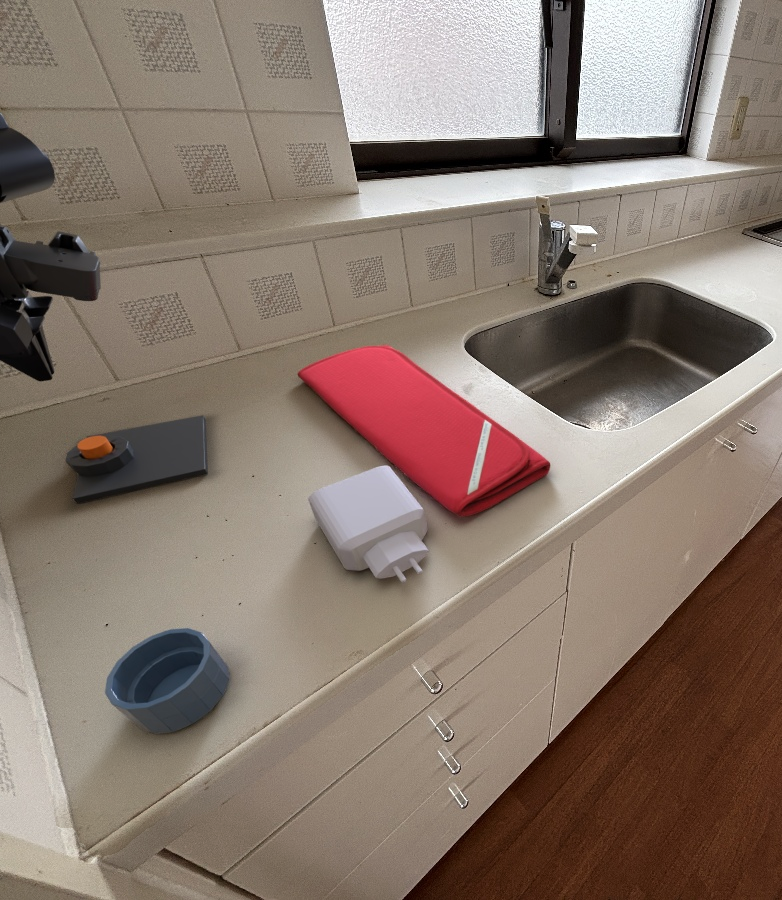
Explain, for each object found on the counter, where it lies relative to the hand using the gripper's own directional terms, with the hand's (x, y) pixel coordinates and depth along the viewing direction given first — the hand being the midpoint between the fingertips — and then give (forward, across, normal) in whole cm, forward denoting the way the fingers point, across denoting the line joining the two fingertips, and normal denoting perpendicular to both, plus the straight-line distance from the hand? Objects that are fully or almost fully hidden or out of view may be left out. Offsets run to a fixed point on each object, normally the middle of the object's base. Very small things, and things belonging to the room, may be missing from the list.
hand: (47, 377), depth 52 cm
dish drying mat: (+13, -6, -35) cm, 38 cm away
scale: (+12, 0, -4) cm, 13 cm away
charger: (+13, -26, -26) cm, 39 cm away
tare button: (+10, 0, 0) cm, 10 cm away
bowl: (+12, -35, -8) cm, 38 cm away
